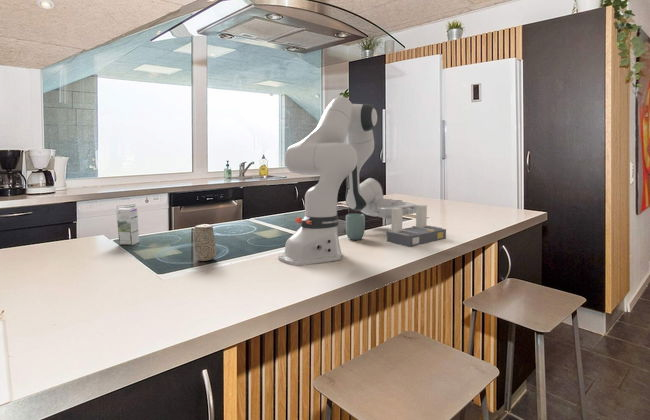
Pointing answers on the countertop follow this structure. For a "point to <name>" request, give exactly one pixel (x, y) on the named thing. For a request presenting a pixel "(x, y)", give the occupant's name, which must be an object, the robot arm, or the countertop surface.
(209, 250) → the carving
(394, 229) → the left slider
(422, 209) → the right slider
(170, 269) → the countertop surface
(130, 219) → the syrup box
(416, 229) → the switch console
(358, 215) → the cup
